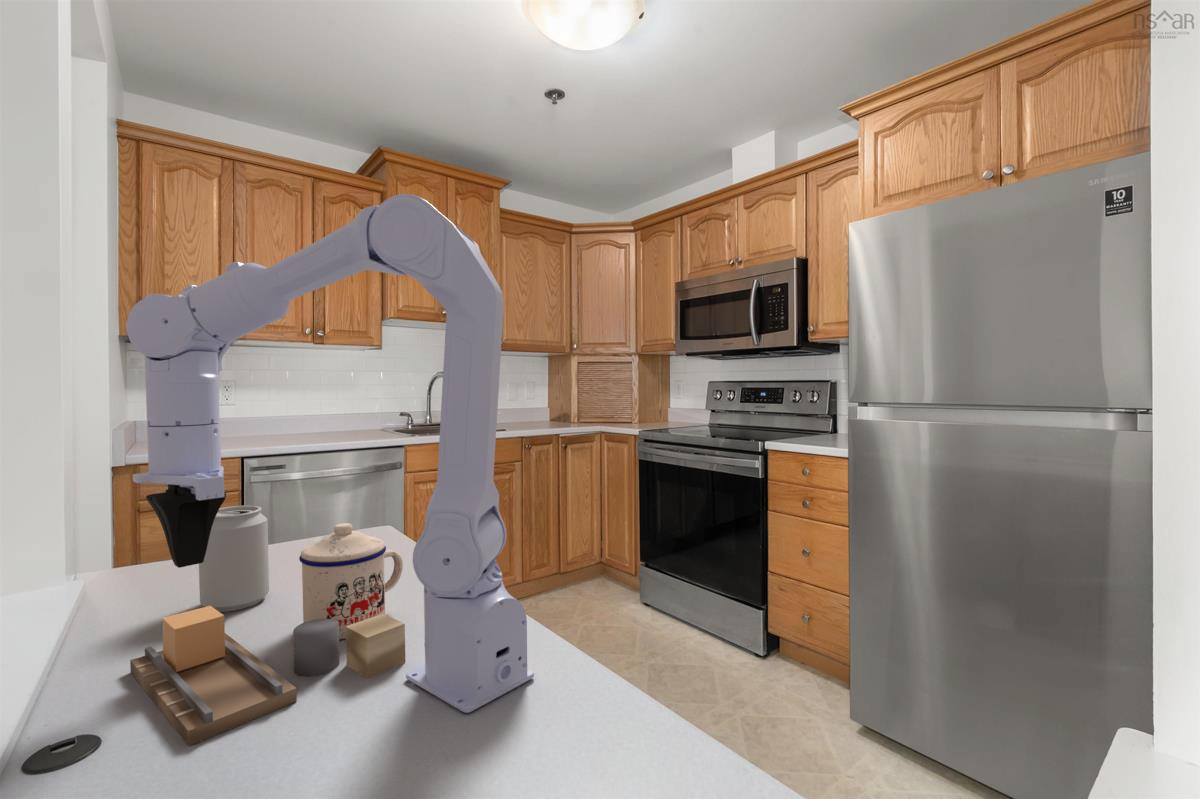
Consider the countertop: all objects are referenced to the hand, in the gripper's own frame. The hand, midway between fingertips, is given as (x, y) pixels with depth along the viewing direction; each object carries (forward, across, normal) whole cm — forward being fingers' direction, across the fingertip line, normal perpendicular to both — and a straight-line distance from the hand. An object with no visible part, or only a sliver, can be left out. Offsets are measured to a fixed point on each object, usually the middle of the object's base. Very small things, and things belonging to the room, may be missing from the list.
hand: (188, 564), depth 57 cm
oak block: (+10, +13, +12) cm, 21 cm away
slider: (+9, +1, 0) cm, 9 cm away
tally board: (+10, +5, 0) cm, 12 cm away
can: (+11, -16, +9) cm, 21 cm away
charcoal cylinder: (+10, +9, +8) cm, 16 cm away
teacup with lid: (+11, +2, +16) cm, 19 cm away
